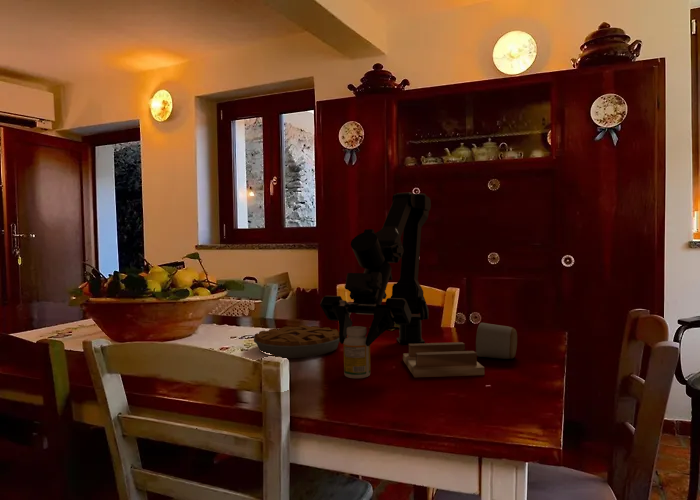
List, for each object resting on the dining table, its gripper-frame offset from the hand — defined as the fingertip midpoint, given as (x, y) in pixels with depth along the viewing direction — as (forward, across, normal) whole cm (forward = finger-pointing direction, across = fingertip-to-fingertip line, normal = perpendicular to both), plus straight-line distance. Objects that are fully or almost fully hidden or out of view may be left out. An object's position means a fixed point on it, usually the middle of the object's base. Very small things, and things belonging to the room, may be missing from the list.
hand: (353, 343), depth 101 cm
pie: (-8, -24, +18) cm, 31 cm away
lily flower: (-32, -13, +43) cm, 55 cm away
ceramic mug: (-14, +23, +24) cm, 37 cm away
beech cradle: (-5, +14, +14) cm, 20 cm away
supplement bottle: (+4, 0, +6) cm, 7 cm away
